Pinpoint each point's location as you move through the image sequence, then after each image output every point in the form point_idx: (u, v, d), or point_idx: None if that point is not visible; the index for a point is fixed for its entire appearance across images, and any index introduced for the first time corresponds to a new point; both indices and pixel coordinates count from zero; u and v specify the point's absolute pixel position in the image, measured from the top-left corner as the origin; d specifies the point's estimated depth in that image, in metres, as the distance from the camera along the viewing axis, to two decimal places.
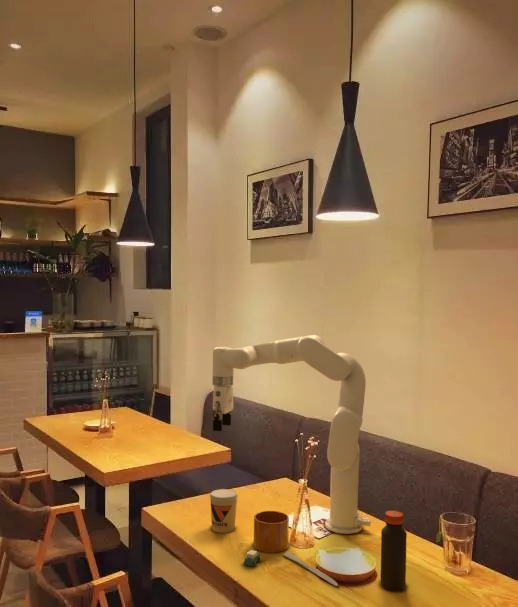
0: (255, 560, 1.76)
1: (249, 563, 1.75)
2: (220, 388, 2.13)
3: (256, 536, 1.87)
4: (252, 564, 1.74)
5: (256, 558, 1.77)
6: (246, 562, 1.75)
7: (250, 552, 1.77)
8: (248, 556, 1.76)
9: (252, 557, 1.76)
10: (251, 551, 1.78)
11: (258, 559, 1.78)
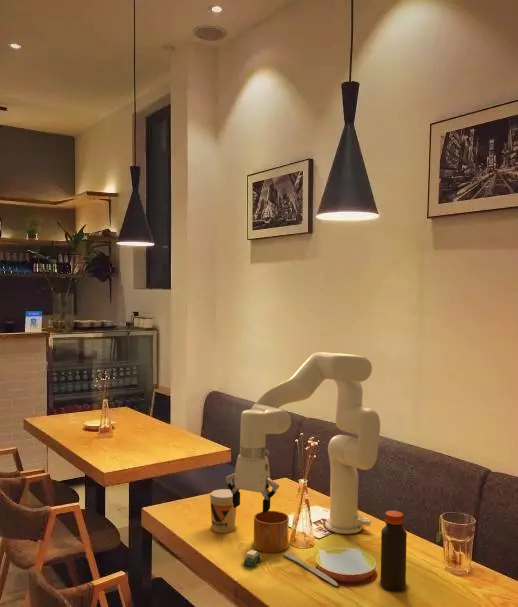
0: (255, 560, 1.76)
1: (249, 563, 1.75)
2: (267, 460, 1.77)
3: (256, 536, 1.87)
4: (252, 564, 1.74)
5: (256, 558, 1.77)
6: (246, 562, 1.75)
7: (250, 552, 1.77)
8: (248, 556, 1.76)
9: (252, 557, 1.76)
10: (251, 551, 1.78)
11: (258, 559, 1.78)
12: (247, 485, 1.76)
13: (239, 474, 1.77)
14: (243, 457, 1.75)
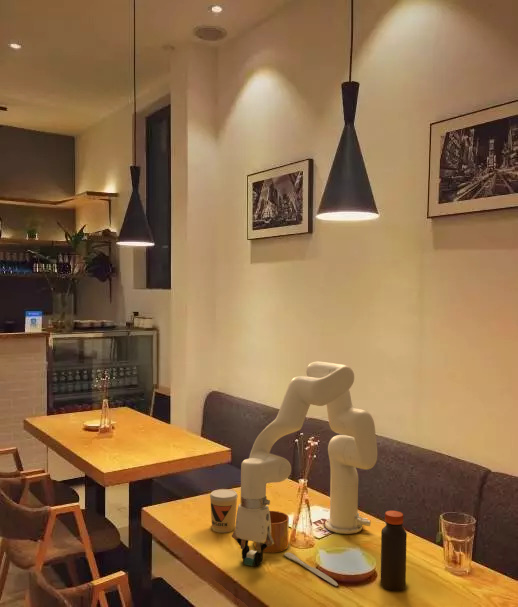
0: None
1: (249, 563, 1.75)
2: (268, 509, 1.76)
3: None
4: (252, 564, 1.74)
5: None
6: (246, 562, 1.75)
7: (250, 552, 1.77)
8: (248, 556, 1.76)
9: (252, 557, 1.76)
10: (251, 551, 1.78)
11: None
12: (248, 535, 1.75)
13: (240, 524, 1.76)
14: (244, 507, 1.74)
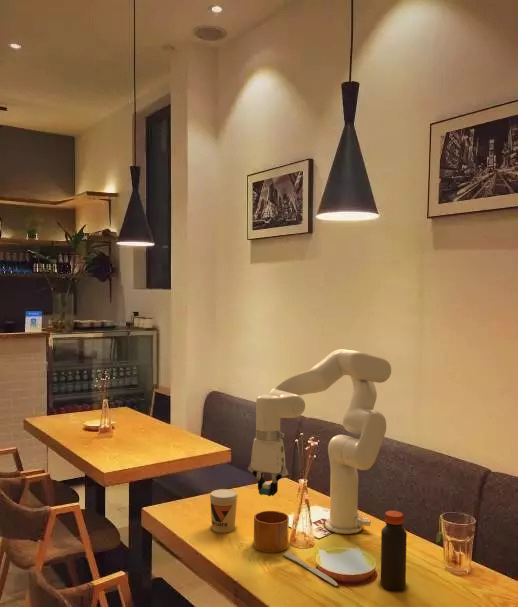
0: (270, 490, 1.85)
1: (265, 493, 1.84)
2: (282, 442, 1.85)
3: (256, 536, 1.87)
4: (268, 493, 1.84)
5: None
6: (262, 492, 1.84)
7: (265, 483, 1.86)
8: (264, 486, 1.85)
9: (268, 487, 1.85)
10: (266, 482, 1.87)
11: None
12: (264, 467, 1.84)
13: (256, 456, 1.85)
14: (259, 440, 1.83)
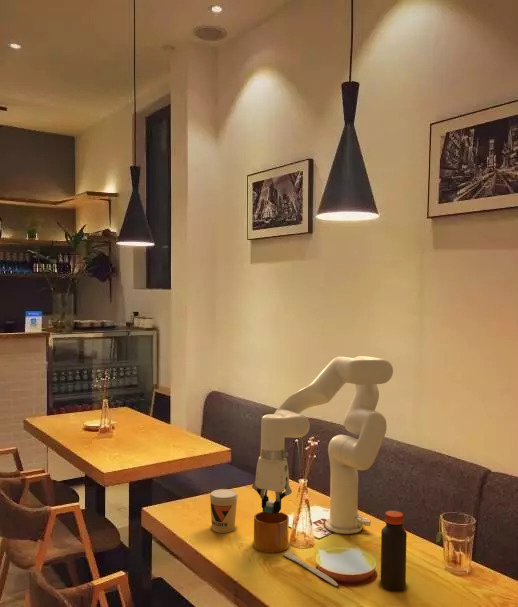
0: None
1: (268, 511, 1.87)
2: (286, 461, 1.89)
3: (256, 536, 1.87)
4: (271, 512, 1.87)
5: None
6: (266, 510, 1.88)
7: (269, 501, 1.90)
8: (267, 505, 1.89)
9: (271, 505, 1.88)
10: (270, 500, 1.90)
11: None
12: (268, 485, 1.88)
13: (260, 475, 1.89)
14: (264, 459, 1.87)
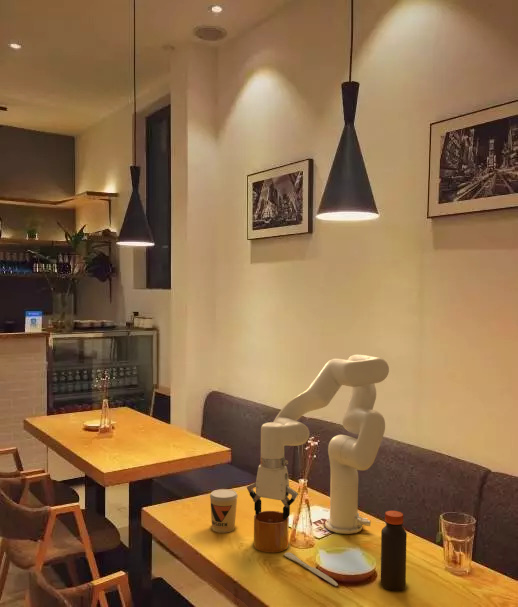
0: None
1: None
2: (286, 469, 1.89)
3: (256, 536, 1.87)
4: None
5: None
6: None
7: None
8: None
9: None
10: None
11: None
12: (268, 493, 1.88)
13: (260, 483, 1.89)
14: (264, 467, 1.87)
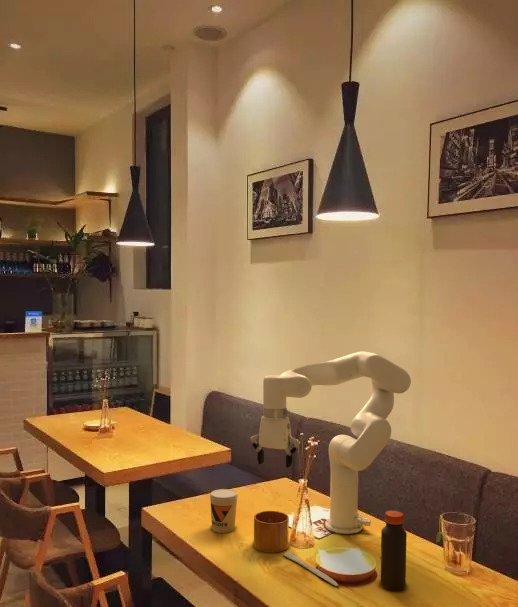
0: None
1: None
2: (288, 419, 1.94)
3: (256, 536, 1.87)
4: None
5: None
6: None
7: None
8: None
9: None
10: None
11: None
12: (271, 443, 1.94)
13: (263, 433, 1.95)
14: (267, 417, 1.93)
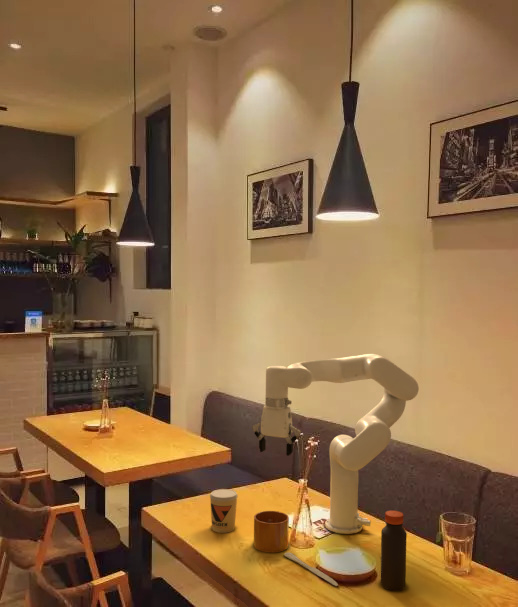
0: None
1: None
2: (289, 409, 2.01)
3: (256, 536, 1.87)
4: None
5: None
6: None
7: None
8: None
9: None
10: None
11: None
12: (272, 431, 2.00)
13: (265, 422, 2.01)
14: (269, 406, 1.99)
